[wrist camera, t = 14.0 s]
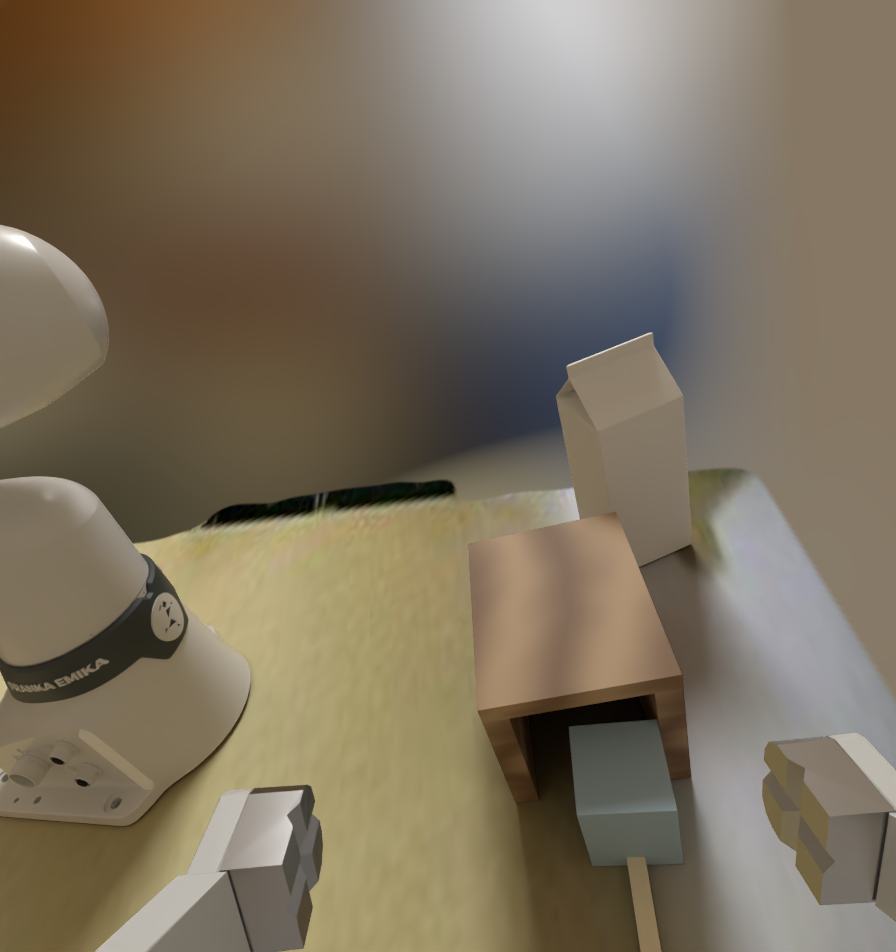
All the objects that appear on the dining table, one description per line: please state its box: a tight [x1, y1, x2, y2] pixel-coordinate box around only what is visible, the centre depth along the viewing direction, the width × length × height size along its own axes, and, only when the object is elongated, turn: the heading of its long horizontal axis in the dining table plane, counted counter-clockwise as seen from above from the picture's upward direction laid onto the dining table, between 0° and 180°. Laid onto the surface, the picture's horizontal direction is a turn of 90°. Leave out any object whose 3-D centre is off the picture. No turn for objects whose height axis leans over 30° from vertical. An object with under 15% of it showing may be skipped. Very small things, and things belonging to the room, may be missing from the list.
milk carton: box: [556, 333, 692, 567], centre depth 49 cm, size 7×7×19 cm
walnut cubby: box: [468, 512, 691, 803], centre depth 40 cm, size 11×14×10 cm
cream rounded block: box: [569, 719, 684, 952], centre depth 28 cm, size 5×16×11 cm, turn 175°
